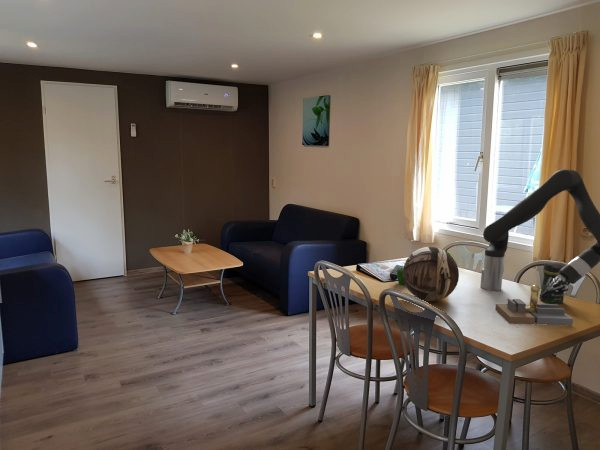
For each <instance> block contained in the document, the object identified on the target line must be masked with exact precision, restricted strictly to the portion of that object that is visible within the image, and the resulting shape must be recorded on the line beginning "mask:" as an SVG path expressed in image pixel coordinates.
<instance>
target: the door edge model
mask: <svg viewBox="0 0 600 450" xmlns="http://www.w3.org/2000/svg"><path fill="white" fill-rule="evenodd" d="M516 306H517V310H516ZM526 306H530V304H526V302H524V301H523V300H522V299H519V298H512V299H511V298H507V303H495V309H494V310H495V312H497V313H498V314H499V315H500V316H501V317H502V318H503V319H504V320H505V321H506V322H507V323H508V324H509V325H510V324H511V325H512V324H513V325H532V324H534V325H537V324H547V325H546V326H560V325H572V326H573V323H574V318H572V317H571V316H570V315H568V314H567V313H565V311H566V309H565V308H559V307H560V305H559V303H537V307H538V308H537V309H536V312H529V311H525V308H526Z"/></svg>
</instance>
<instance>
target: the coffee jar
mask: <svg viewBox="0 0 600 450" xmlns="http://www.w3.org/2000/svg"><path fill="white" fill-rule="evenodd" d="M565 265H566V264H565V263H562V262H545V263H544V264H543V281H542V284H541V288H540V289H541V290H540V293H539V295H540V294H541V293H543V292H544V291H545V290H546V287H545V286H546V284H547V282H548V280H549V278H550V277H552V278H555V277H556V276H558V275H560V272H559V270H560V269H562V268H563V267H564V266H565ZM564 294H565V292H562V293H559V294H557V295H555V294H551V295H550V296H548V297H547V298H546V299H545V300H544V299H542V298H541V297H540V296H539V299H540V300H541V301H542V302H544V303H546V304H562V303H563V302H564V297H565V295H564Z"/></svg>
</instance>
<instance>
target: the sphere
mask: <svg viewBox="0 0 600 450" xmlns="http://www.w3.org/2000/svg"><path fill="white" fill-rule="evenodd" d="M403 264H404V265H403V267H402V268H403V279H404V283H405V287H406V289H407V290H408V292H410V293H411V294H412V295H413V296H414V297H416V298H418V299H419V298H420V300H422V301H427V302H437V301H438V302H439V301H441V300H443V299H445V298H448V297H449V296H450V295H451V294H452V293H453V292H454V290H455V289H457V285H458V282H459V279H460V277H459V276H460V273H459V272H460V271H459V267H458V264H457V262H456V260H455V259H454V258H453V256H452V255H451V254H450V253H449V252H447V251H446V250H444V249H442V248H439V247H434V246H425V247H422V248H418V249H417V250H414V251H413V252H412V253H411V254H410V255H409V256H408V257H407V259H406V260H405V262H404V263H403Z"/></svg>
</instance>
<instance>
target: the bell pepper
mask: <svg viewBox="0 0 600 450" xmlns="http://www.w3.org/2000/svg"><path fill="white" fill-rule="evenodd" d="M403 268H404V267H400V268H399V269H397V271H396V276H397V282H398V283H399V285H401V286H404V285H405V283H404V279H403ZM405 286H406V285H405Z"/></svg>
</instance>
